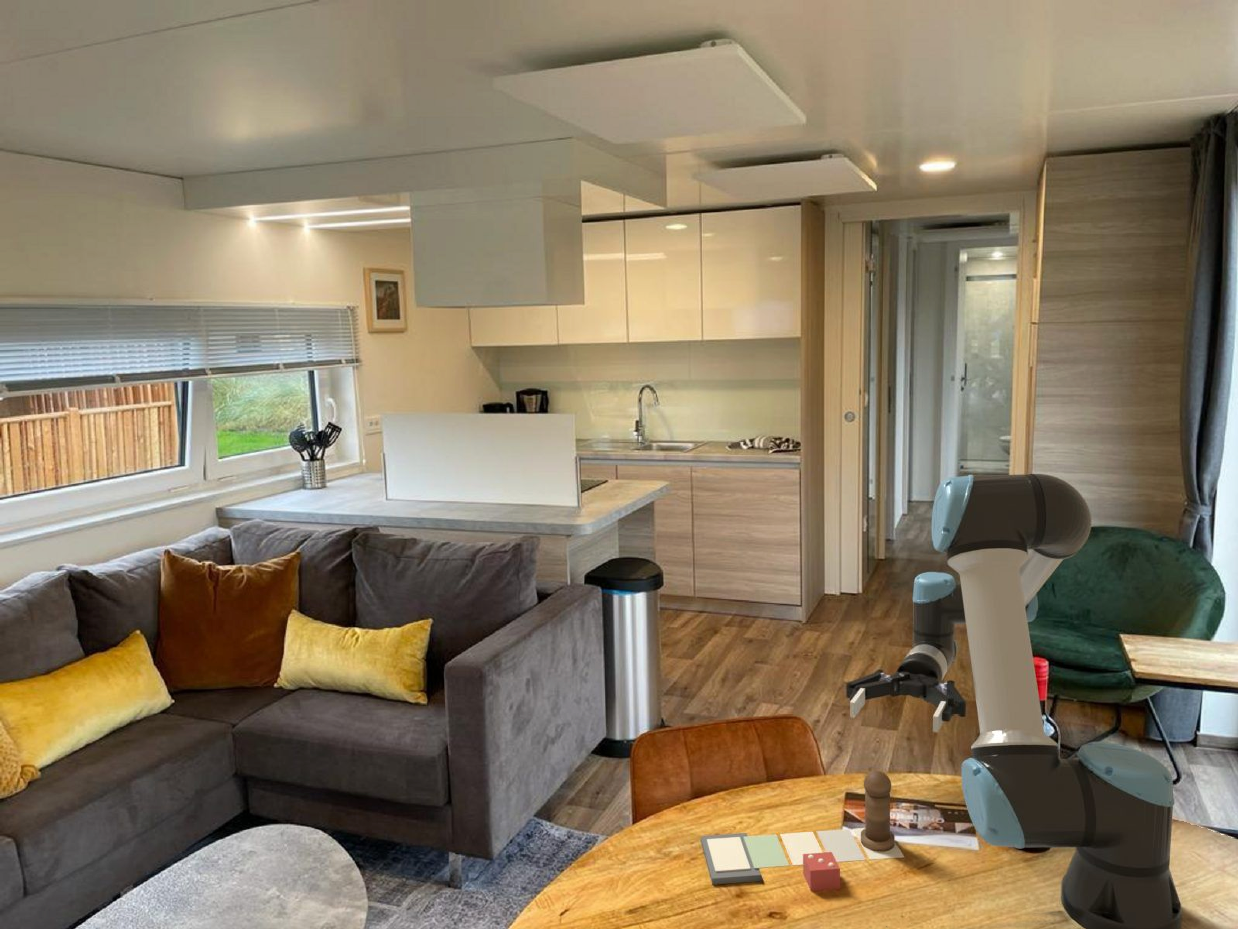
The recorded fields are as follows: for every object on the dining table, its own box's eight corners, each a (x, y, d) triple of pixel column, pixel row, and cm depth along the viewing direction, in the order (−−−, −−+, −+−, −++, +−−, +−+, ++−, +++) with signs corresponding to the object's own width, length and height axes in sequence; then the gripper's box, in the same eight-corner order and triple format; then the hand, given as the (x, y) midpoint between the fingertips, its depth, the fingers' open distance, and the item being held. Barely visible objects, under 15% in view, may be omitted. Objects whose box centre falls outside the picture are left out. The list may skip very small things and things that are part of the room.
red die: (840, 896, 142) (839, 866, 141) (810, 898, 141) (810, 868, 141) (831, 878, 146) (831, 850, 145) (803, 881, 146) (802, 852, 145)
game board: (912, 869, 147) (912, 862, 147) (712, 884, 146) (711, 877, 146) (886, 828, 159) (886, 821, 159) (700, 841, 158) (700, 834, 158)
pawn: (899, 850, 151) (899, 779, 149) (866, 852, 150) (866, 781, 148) (888, 832, 156) (888, 763, 154) (856, 835, 155) (856, 766, 154)
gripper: (993, 702, 171) (971, 752, 153) (854, 680, 184) (819, 725, 166) (994, 662, 170) (972, 708, 152) (854, 643, 183) (819, 683, 164)
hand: (892, 717), depth 159 cm, fingers open, 13 cm apart
